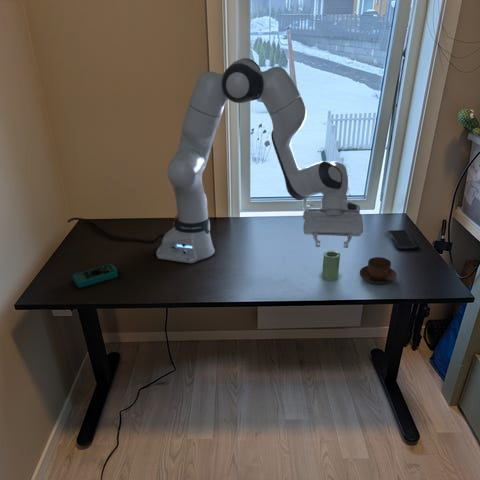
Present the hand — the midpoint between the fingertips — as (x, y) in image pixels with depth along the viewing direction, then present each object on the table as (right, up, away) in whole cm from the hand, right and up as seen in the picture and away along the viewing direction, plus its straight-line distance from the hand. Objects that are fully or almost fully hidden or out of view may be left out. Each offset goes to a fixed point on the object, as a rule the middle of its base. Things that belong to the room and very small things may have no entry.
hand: (331, 246), depth 158 cm
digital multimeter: (-83, -11, +6) cm, 84 cm away
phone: (+32, +6, +23) cm, 40 cm away
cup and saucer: (+16, -11, 0) cm, 19 cm away
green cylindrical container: (0, -10, +2) cm, 10 cm away
